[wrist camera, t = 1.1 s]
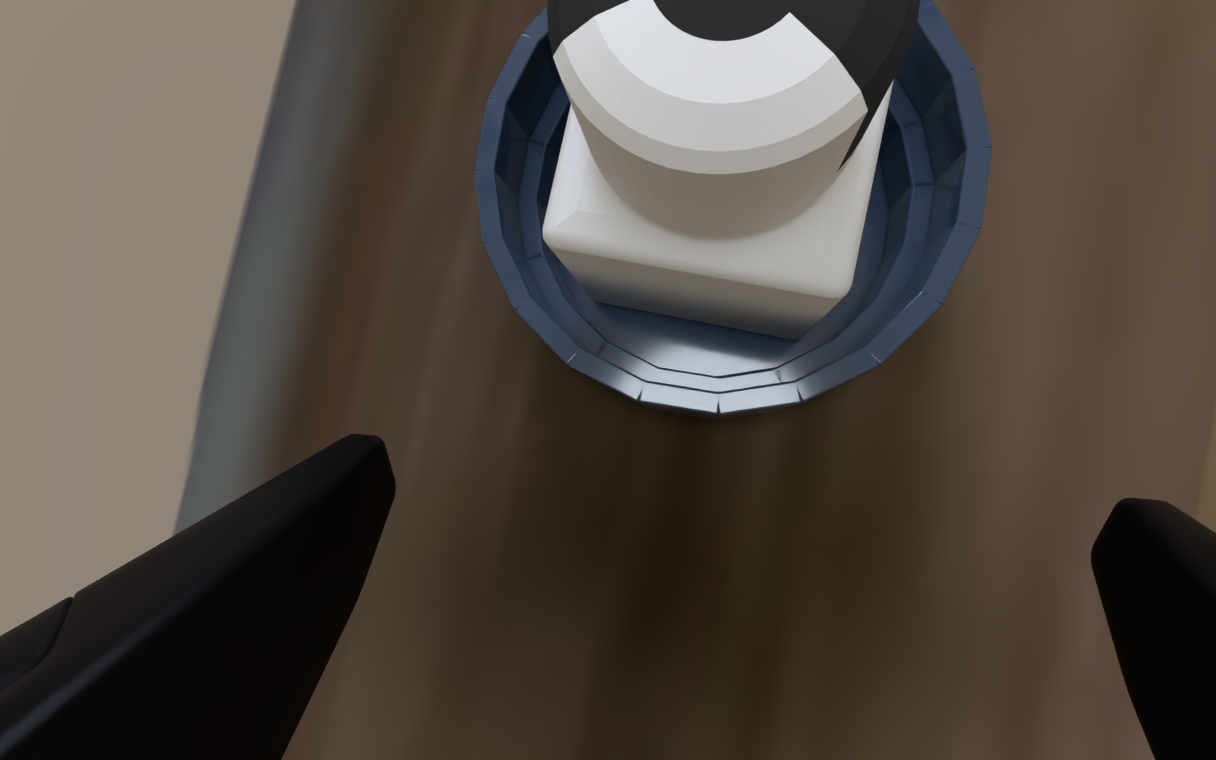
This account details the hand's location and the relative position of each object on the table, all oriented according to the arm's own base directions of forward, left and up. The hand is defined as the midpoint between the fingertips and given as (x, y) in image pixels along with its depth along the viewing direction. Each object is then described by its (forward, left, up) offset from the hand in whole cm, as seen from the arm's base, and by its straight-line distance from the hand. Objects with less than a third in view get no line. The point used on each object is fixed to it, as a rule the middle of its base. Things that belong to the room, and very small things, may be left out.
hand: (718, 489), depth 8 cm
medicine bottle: (+8, +1, -13) cm, 15 cm away
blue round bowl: (+8, +1, -13) cm, 16 cm away
